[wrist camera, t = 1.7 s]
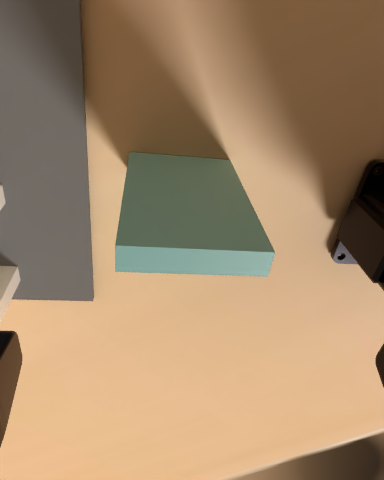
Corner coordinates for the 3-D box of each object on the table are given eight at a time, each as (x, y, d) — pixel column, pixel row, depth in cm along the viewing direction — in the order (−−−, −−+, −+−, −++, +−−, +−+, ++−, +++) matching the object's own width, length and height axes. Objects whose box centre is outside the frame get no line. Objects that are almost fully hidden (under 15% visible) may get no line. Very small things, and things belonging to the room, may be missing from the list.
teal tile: (229, 159, 18) (275, 252, 11) (226, 178, 18) (267, 276, 12) (129, 151, 17) (115, 245, 11) (129, 170, 18) (115, 271, 11)
